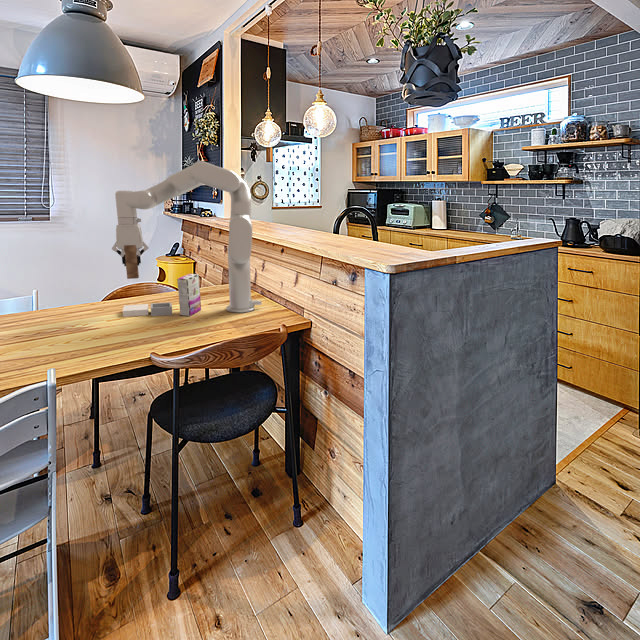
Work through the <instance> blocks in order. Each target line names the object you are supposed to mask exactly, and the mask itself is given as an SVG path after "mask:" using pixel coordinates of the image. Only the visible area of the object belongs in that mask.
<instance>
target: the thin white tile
mask: <svg viewBox="0 0 640 640" xmlns="http://www.w3.org/2000/svg"><path fill="white" fill-rule="evenodd" d="M142 316H149V304H148V303H143V304H129V305H127V304H125V305H123V308H122V317H124V318H125V317H127V318H128V317H142Z"/></svg>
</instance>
